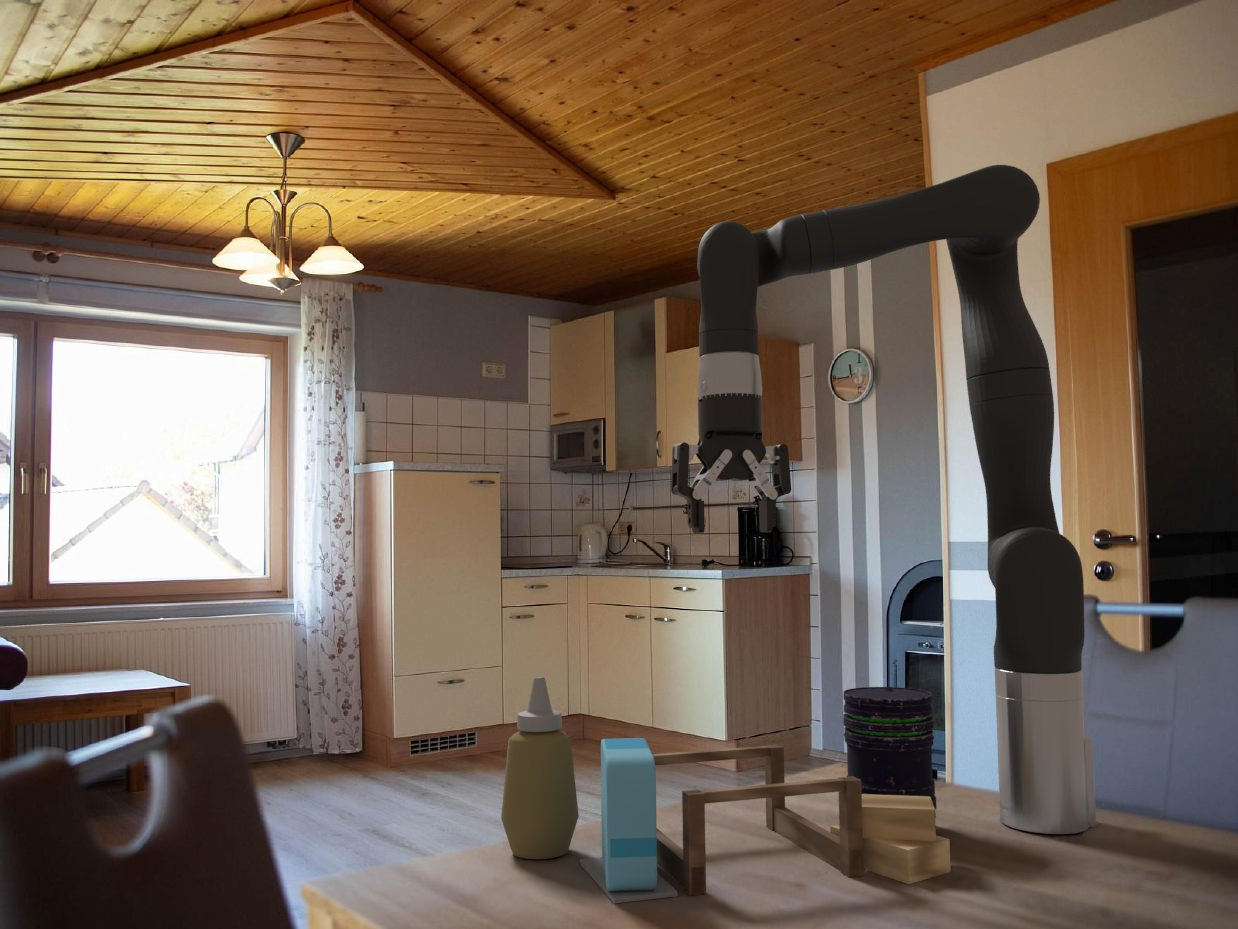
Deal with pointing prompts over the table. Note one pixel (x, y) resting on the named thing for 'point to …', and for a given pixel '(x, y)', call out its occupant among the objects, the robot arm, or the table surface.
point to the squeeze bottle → (539, 782)
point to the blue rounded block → (628, 814)
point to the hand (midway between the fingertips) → (732, 532)
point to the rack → (827, 846)
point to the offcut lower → (905, 857)
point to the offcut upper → (898, 817)
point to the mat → (597, 873)
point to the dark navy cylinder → (890, 740)
